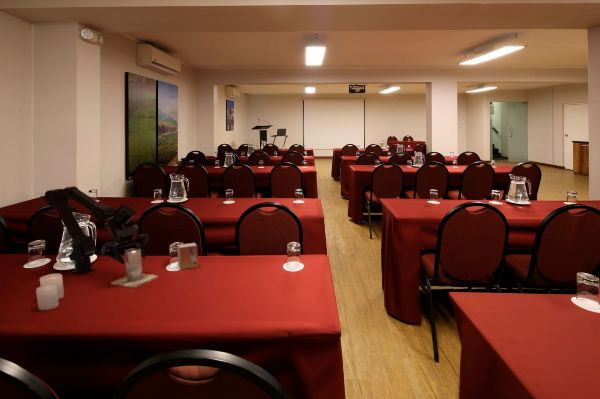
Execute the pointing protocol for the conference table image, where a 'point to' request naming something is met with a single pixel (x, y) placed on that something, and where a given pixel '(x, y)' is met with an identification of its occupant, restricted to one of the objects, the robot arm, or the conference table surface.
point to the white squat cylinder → (47, 297)
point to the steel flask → (133, 264)
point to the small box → (187, 256)
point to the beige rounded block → (53, 282)
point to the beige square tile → (144, 280)
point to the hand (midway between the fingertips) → (134, 260)
